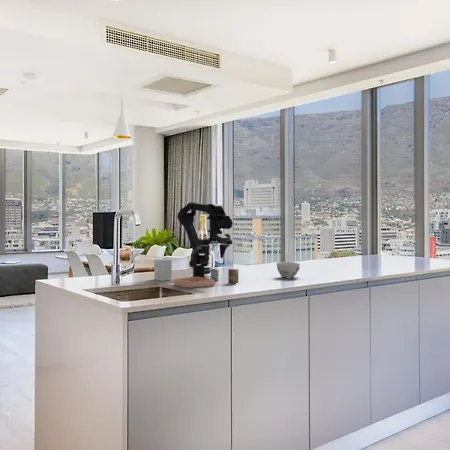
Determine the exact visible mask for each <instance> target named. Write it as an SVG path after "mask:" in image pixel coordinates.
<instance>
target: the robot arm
mask: <svg viewBox="0 0 450 450" xmlns="http://www.w3.org/2000/svg"><path fill="white" fill-rule="evenodd" d="M197 212H203V213H204V212H205V214H206V215H207V214H208V216H207V217H206V219H207V220H209V229H208V230H207V233H209V237H207V239H205V238H204V239H203V238H202V239H200V238H199V236H198V234H197V230H196V229H195V226H194V225H195V224H194V221H195V216H196V215H197ZM177 219H178V222H179V223H180V225H182V226H183V227H184V229H185V232H186V235H187V238H188V240H189V243H190V246H191V250H192V254H191V260H190V261H189V265H188V266H189V267H190V268H192V277H202V278H208V277H207V276H206V275H205V272H206V271H205V267H208V264H209V261H210V256H209V255H210V254H209V253H210V252H209V250H210V247H211V245H212V244H213V245H215V244H219V245H218V246H219V254H220V258H221V259H223V258H224V255H225V253H226V250H227V248H229V247H230V246H231V245H233V240H232V238H231V234H230V233H225V234H223V230H230V229H232V228H233V224H234V223H233V220H232V218H231V216H230V215H227V213H226V211H225V210H224V208H223V204H220V203H208V204H207V203H206V204H205V203H198V202H195V201H193V202H192V201H191V202H188V203H187V204H186V205H185V206H184V207H182V208H181V209H180V211H178V213H177Z"/></svg>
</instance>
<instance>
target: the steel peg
mask: <svg viewBox="0 0 450 450" xmlns="http://www.w3.org/2000/svg"><path fill="white" fill-rule="evenodd" d="M210 279H213V280H215V282H219V269H218V268H211V269H210Z"/></svg>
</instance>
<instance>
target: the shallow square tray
mask: <svg viewBox="0 0 450 450" xmlns="http://www.w3.org/2000/svg"><path fill="white" fill-rule="evenodd" d="M173 280H174V281H173V285H174V286H177V285H178V287H181V286H183V287H182V288H186V287H189V288H188V289H195V288H194V287H200V288H205V287H204V286H210V287H215V286H214V285H216V281H215V280H213V279H211V278H208V277H207V278H202V277H193V276H190V277H181V278H180V277H178V278H174V279H173Z"/></svg>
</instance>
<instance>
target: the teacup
mask: <svg viewBox="0 0 450 450" xmlns="http://www.w3.org/2000/svg"><path fill="white" fill-rule="evenodd" d="M300 265H301V264H300V263H297V262H289V261H279V262H277V263H276V268H277V271H278V273H279V275H280V276H281V278H283V277H293V278H294V277H296V276H297V274H298V272H299V270H300Z"/></svg>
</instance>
